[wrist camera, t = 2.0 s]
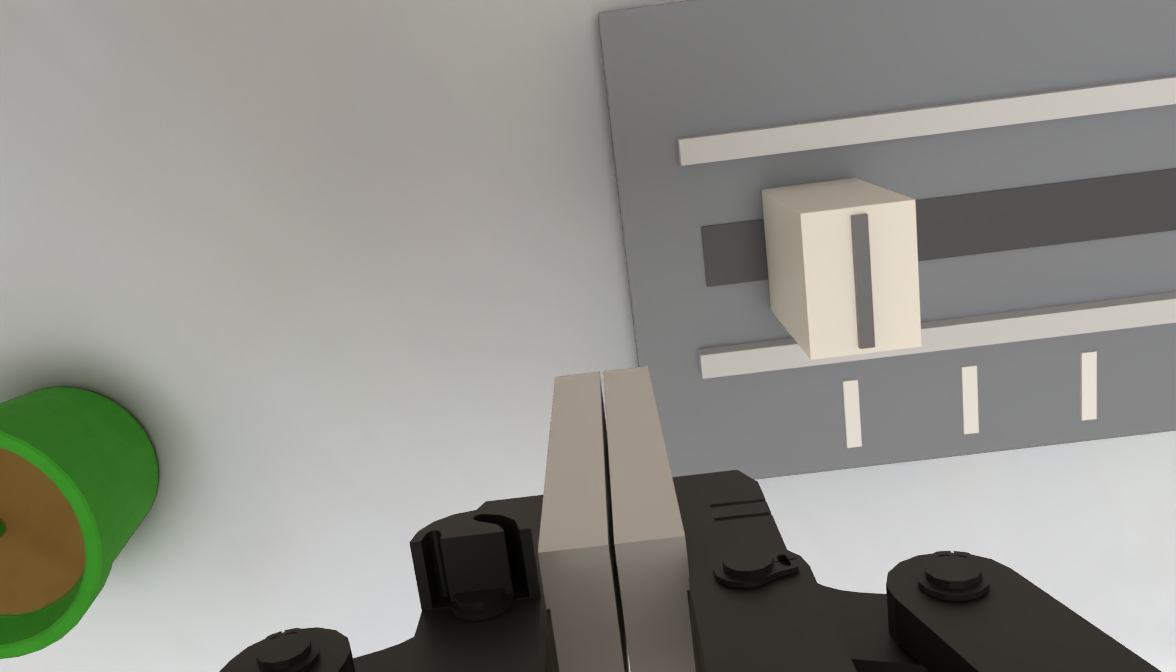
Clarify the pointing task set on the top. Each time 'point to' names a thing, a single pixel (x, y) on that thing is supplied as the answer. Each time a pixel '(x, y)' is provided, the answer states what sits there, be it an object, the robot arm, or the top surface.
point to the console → (943, 219)
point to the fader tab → (843, 266)
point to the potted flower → (64, 508)
